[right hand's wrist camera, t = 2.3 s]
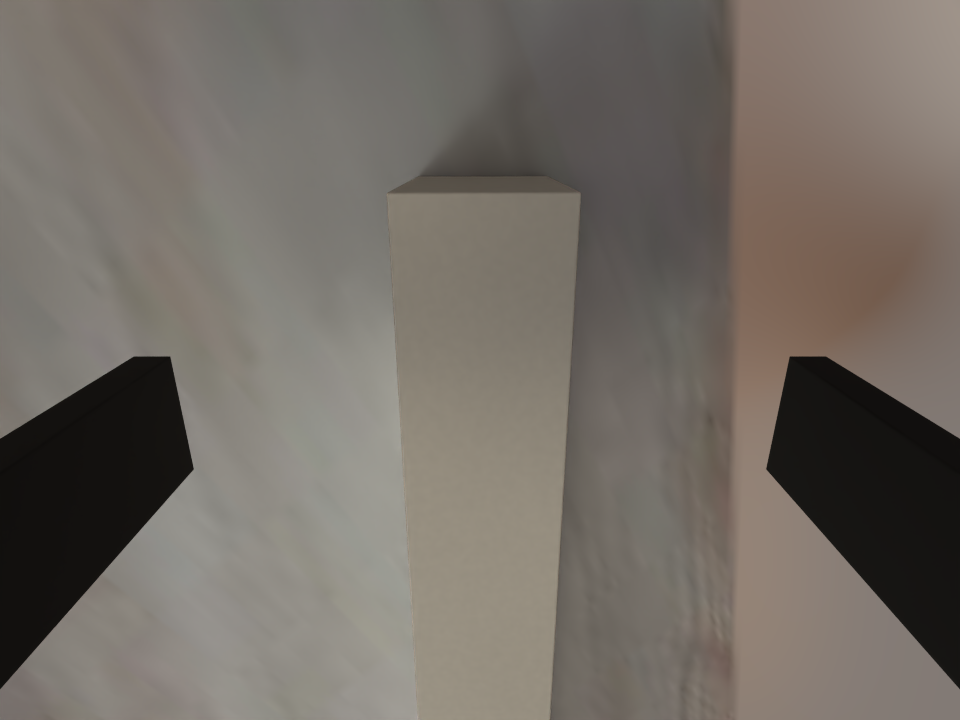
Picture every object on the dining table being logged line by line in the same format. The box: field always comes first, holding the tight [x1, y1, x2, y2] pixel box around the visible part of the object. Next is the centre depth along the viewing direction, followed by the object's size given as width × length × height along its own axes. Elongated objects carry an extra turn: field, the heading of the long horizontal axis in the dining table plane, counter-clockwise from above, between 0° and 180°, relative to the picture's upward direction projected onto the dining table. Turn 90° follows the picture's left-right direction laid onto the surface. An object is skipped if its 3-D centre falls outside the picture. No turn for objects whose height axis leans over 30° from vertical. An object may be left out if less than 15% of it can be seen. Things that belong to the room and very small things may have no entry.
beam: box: [387, 176, 581, 720], centre depth 31 cm, size 54×6×9 cm, turn 0°
